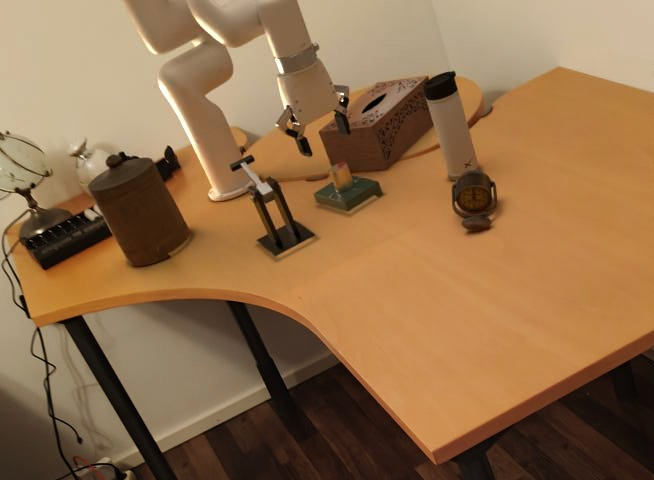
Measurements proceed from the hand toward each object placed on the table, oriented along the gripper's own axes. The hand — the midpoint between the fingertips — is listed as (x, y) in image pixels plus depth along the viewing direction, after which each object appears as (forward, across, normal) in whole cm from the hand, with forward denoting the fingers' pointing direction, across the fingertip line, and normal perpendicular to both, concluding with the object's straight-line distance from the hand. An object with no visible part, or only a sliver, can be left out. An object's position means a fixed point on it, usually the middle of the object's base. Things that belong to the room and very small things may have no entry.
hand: (327, 144), depth 169 cm
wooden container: (+14, +32, -30) cm, 46 cm away
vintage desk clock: (+12, -5, +35) cm, 37 cm away
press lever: (+1, +16, -3) cm, 16 cm away
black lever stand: (+13, +17, +2) cm, 21 cm away
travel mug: (+12, -17, +19) cm, 28 cm away
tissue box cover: (+13, -22, -14) cm, 29 cm away
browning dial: (+9, 0, +1) cm, 9 cm away
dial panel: (+12, 0, +1) cm, 13 cm away
